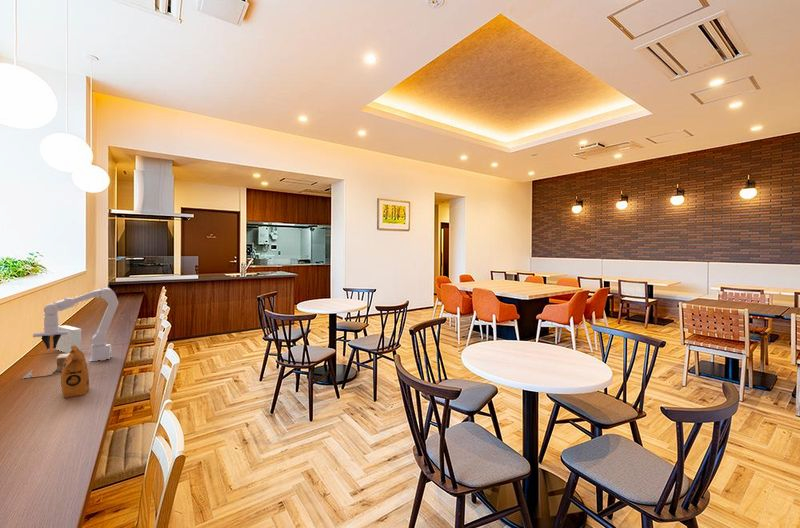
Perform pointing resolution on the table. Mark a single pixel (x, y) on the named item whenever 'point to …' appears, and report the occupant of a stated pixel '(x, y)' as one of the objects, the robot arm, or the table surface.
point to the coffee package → (74, 374)
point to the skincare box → (69, 339)
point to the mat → (34, 376)
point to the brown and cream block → (61, 361)
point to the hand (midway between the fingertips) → (51, 348)
